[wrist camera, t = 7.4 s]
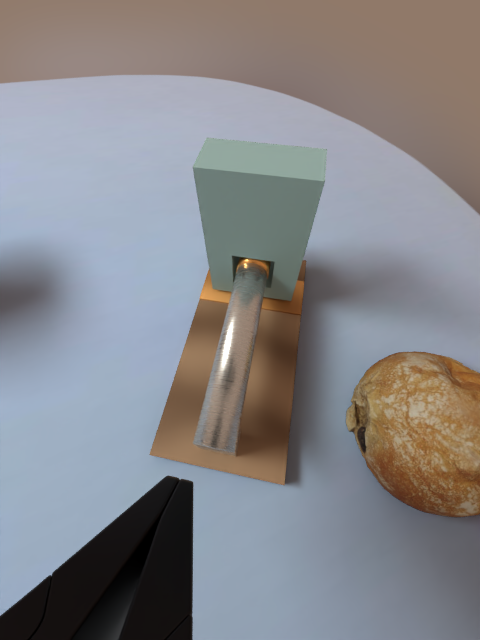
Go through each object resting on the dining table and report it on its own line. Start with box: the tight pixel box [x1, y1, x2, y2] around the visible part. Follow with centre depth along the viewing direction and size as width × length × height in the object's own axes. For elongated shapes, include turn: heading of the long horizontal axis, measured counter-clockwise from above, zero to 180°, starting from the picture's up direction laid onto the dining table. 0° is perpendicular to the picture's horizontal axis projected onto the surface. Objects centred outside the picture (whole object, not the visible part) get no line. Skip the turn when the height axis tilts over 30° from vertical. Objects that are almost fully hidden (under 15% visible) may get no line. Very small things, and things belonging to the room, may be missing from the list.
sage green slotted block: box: [193, 138, 327, 301], centre depth 20 cm, size 3×7×11 cm, turn 79°
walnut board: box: [150, 260, 306, 485], centre depth 22 cm, size 19×9×1 cm, turn 169°
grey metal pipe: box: [193, 257, 271, 456], centre depth 20 cm, size 18×3×5 cm, turn 169°
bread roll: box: [346, 352, 480, 517], centre depth 18 cm, size 10×10×8 cm
